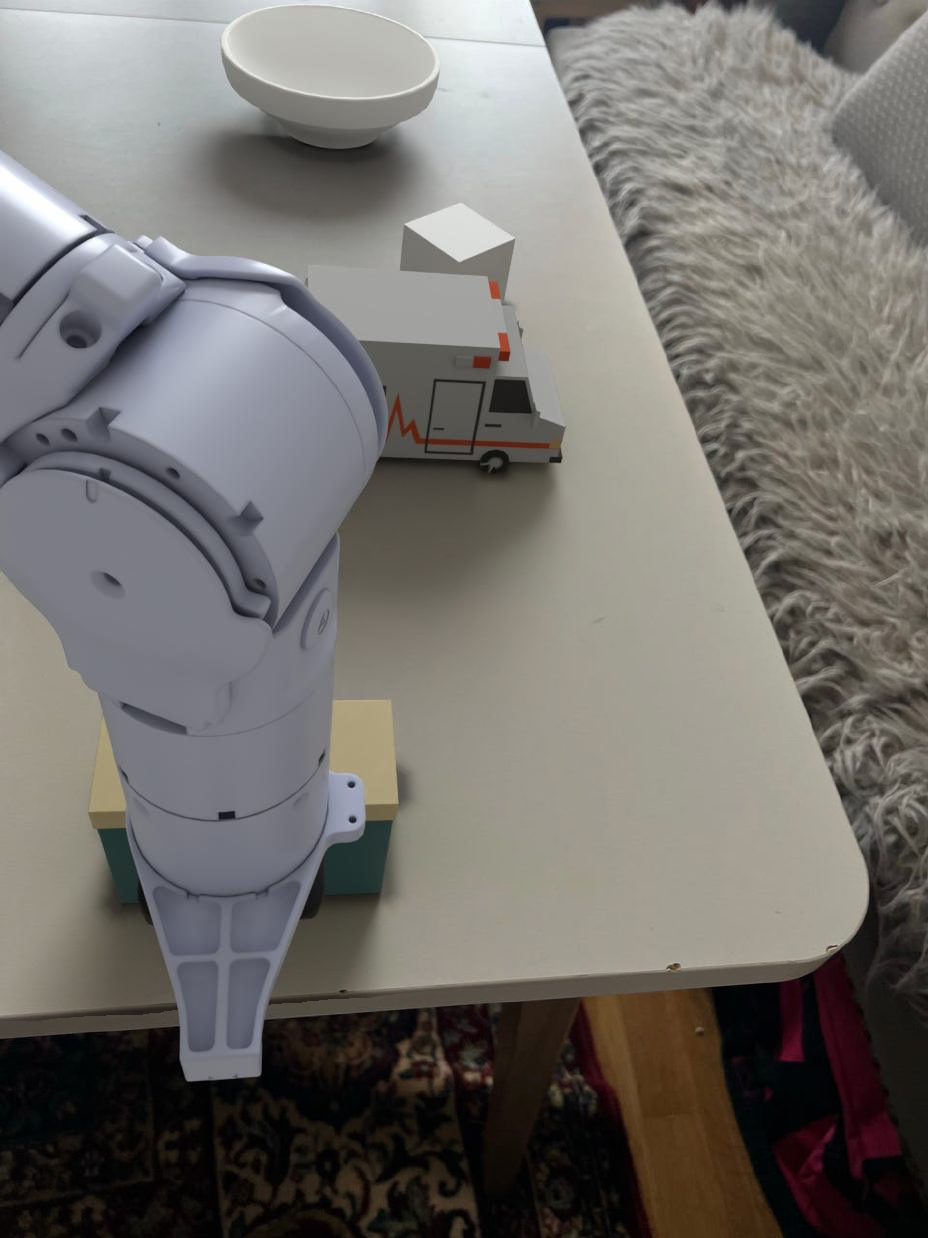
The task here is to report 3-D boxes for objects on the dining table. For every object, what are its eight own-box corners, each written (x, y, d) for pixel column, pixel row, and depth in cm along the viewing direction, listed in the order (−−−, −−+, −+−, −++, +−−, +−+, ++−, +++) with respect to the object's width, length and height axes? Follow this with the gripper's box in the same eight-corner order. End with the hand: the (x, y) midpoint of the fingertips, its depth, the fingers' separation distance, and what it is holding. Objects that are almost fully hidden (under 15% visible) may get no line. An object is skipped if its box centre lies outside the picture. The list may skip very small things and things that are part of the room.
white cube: (502, 306, 81) (515, 238, 76) (449, 332, 78) (459, 262, 73) (451, 270, 83) (460, 201, 78) (397, 293, 80) (403, 223, 75)
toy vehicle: (560, 484, 68) (594, 363, 61) (302, 475, 66) (303, 347, 58) (541, 394, 74) (569, 273, 67) (303, 382, 72) (304, 255, 64)
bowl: (467, 169, 94) (477, 90, 89) (265, 192, 87) (263, 108, 81) (384, 74, 104) (389, -2, 99) (197, 88, 97) (191, 7, 91)
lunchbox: (118, 906, 46) (87, 812, 39) (129, 805, 50) (103, 702, 43) (383, 895, 48) (398, 804, 41) (378, 799, 52) (391, 699, 45)
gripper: (388, 991, 23) (358, 1131, 33) (363, 530, 32) (346, 754, 42) (63, 1009, 22) (137, 1149, 32) (132, 526, 31) (172, 757, 41)
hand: (243, 926), depth 37 cm, fingers closed
